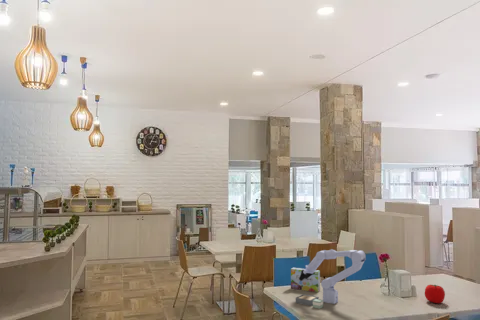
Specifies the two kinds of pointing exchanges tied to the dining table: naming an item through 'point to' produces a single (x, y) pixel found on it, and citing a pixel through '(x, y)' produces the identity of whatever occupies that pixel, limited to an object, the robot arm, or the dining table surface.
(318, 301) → the green banded cube
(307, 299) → the tan wooden block
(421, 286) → the dining table surface
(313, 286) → the snack box
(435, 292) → the tomato
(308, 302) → the gray square tray
